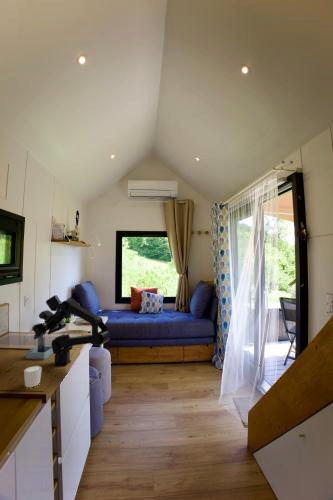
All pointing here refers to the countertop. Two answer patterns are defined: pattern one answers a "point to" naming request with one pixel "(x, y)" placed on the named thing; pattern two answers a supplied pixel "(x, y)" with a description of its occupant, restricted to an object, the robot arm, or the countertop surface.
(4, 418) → the countertop surface
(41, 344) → the pin
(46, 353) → the pin tray
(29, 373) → the white cup
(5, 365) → the countertop surface
